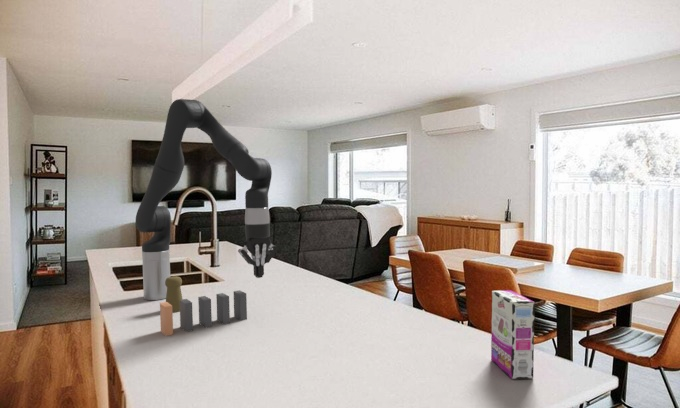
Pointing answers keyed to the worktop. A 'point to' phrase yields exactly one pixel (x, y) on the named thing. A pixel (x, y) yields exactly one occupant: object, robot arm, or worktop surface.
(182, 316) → the domino
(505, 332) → the candy bar box
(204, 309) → the domino
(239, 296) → the domino
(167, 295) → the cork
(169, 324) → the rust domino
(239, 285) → the worktop surface
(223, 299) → the domino
